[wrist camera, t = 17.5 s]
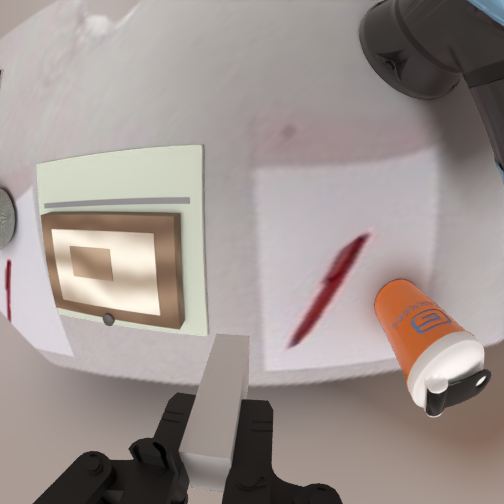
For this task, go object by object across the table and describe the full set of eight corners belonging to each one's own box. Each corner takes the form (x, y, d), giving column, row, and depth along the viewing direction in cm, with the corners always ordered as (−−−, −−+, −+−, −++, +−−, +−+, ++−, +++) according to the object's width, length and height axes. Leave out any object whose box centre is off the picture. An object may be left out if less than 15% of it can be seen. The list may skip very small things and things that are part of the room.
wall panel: (40, 163, 35) (36, 164, 34) (203, 145, 33) (201, 144, 32) (61, 311, 43) (58, 314, 42) (208, 332, 41) (207, 336, 40)
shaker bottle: (426, 310, 38) (494, 395, 19) (377, 337, 40) (424, 437, 21) (414, 261, 36) (499, 337, 17) (359, 290, 38) (416, 390, 18)
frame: (50, 211, 36) (38, 215, 33) (180, 212, 35) (171, 217, 32) (65, 305, 41) (55, 313, 38) (185, 325, 39) (179, 337, 36)
